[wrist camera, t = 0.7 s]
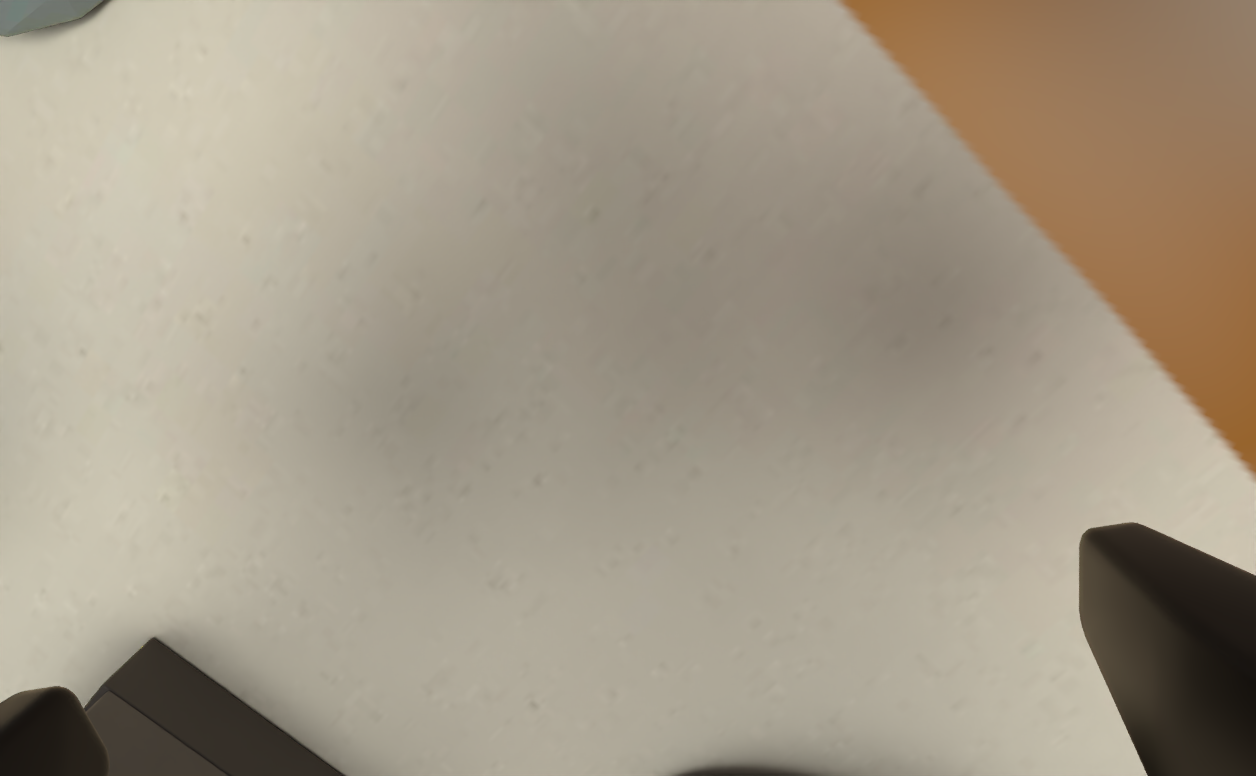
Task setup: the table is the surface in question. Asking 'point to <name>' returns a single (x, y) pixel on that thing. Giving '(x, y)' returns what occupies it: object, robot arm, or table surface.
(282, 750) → the dark grey block
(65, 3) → the gemstone
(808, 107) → the table surface
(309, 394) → the table surface
